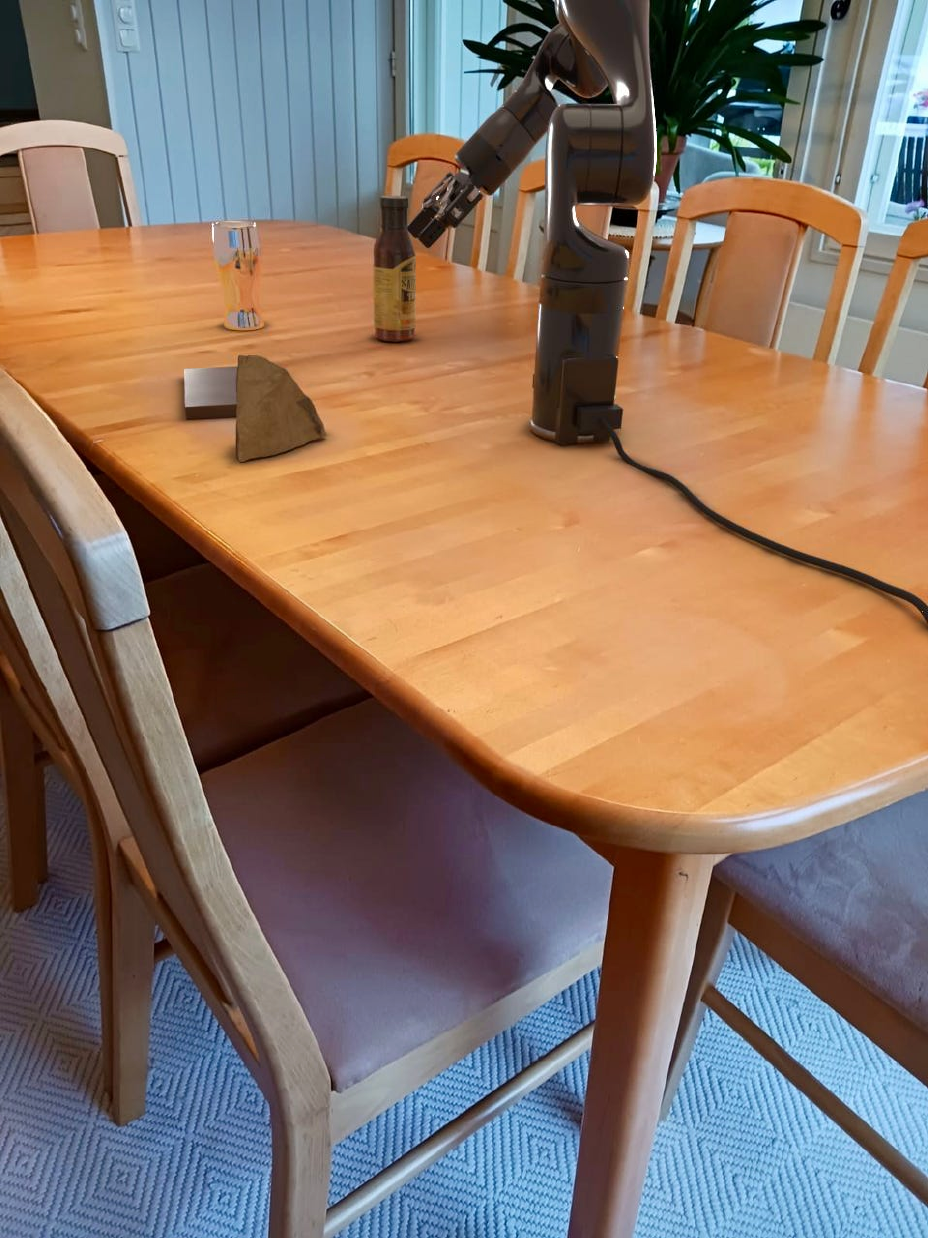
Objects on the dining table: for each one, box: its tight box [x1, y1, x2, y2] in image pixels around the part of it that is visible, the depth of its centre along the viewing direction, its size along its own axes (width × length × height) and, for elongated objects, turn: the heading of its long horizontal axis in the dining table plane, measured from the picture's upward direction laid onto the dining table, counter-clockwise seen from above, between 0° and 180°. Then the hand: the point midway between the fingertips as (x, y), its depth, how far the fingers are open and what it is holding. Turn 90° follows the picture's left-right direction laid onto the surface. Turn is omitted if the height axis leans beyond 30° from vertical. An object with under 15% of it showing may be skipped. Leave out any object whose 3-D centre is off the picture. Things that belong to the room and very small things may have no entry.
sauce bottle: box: [372, 195, 417, 343], centre depth 138 cm, size 6×6×20 cm
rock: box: [235, 354, 327, 463], centre depth 100 cm, size 11×9×10 cm
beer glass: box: [211, 220, 265, 332], centre depth 144 cm, size 7×7×15 cm
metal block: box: [183, 365, 238, 420], centre depth 117 cm, size 16×12×2 cm
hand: (416, 238), depth 137 cm, fingers open, 8 cm apart
